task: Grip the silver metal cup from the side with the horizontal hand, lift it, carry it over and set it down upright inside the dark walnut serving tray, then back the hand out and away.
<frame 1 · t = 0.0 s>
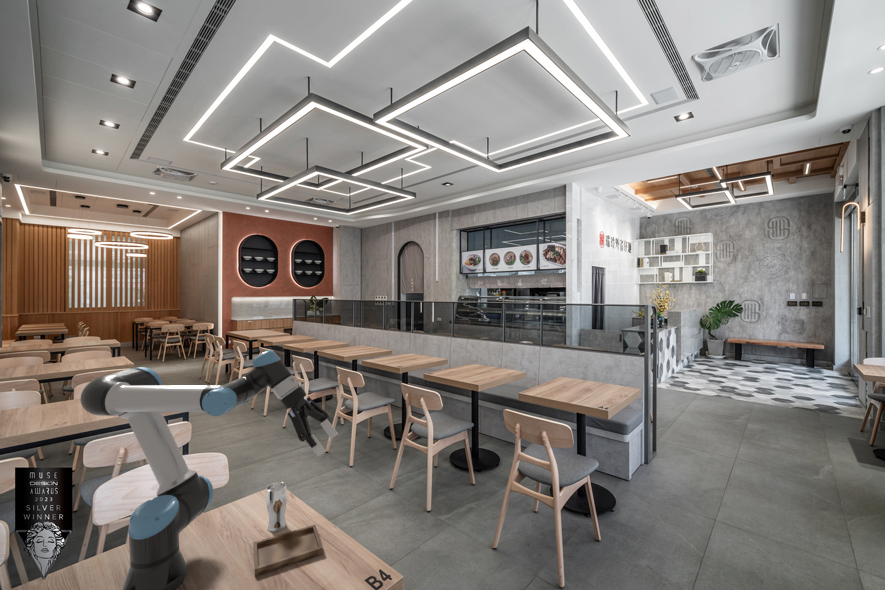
hand: (328, 444, 125), 36 cm above the table, tool tilted 35°, fingers open, 13 cm apart
silver metal cup: (277, 527, 140), on the table
walnut tray: (287, 551, 127), on the table
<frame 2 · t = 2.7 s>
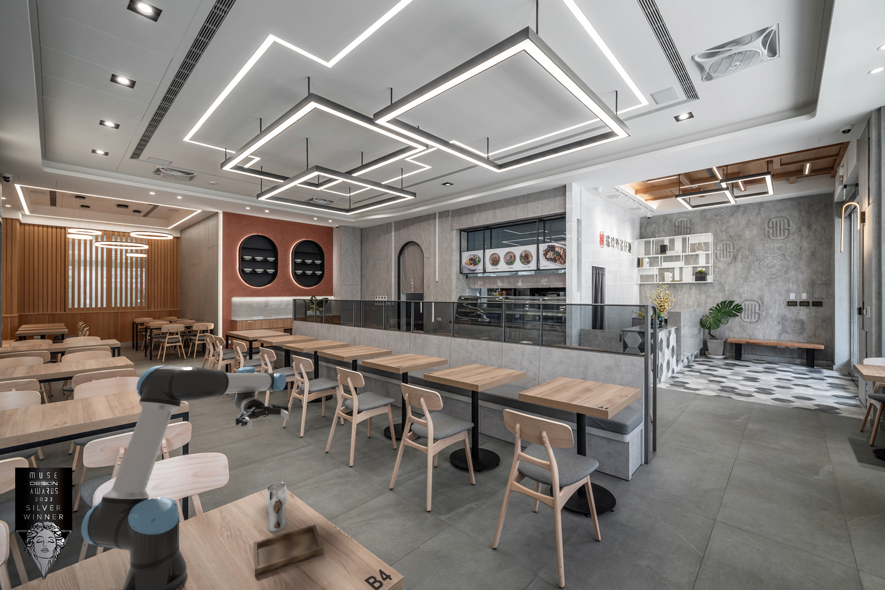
hand: (270, 420, 148), 36 cm above the table, tool horizontal, fingers open, 13 cm apart
nothing on the table moved.
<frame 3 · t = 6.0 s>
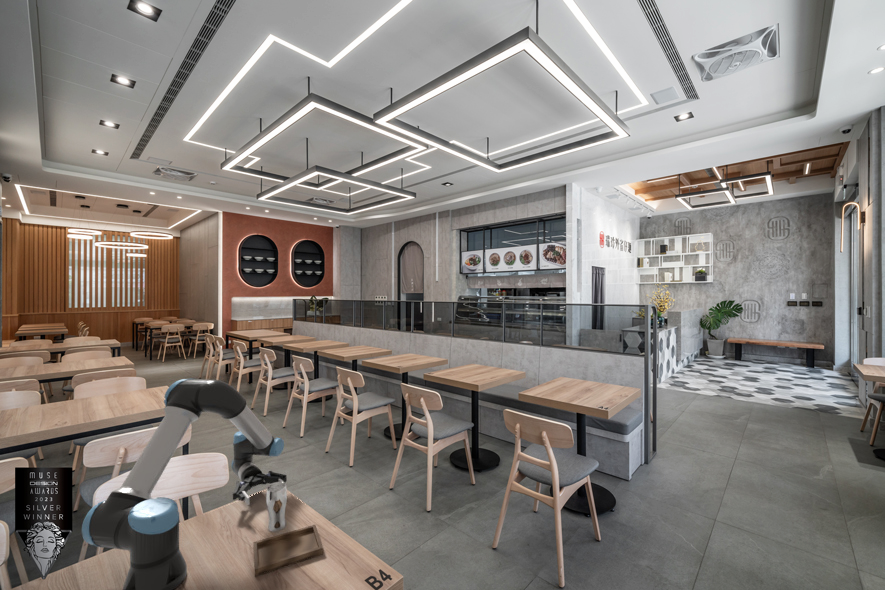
hand: (267, 494, 147), 8 cm above the table, tool horizontal, fingers open, 13 cm apart
nothing on the table moved.
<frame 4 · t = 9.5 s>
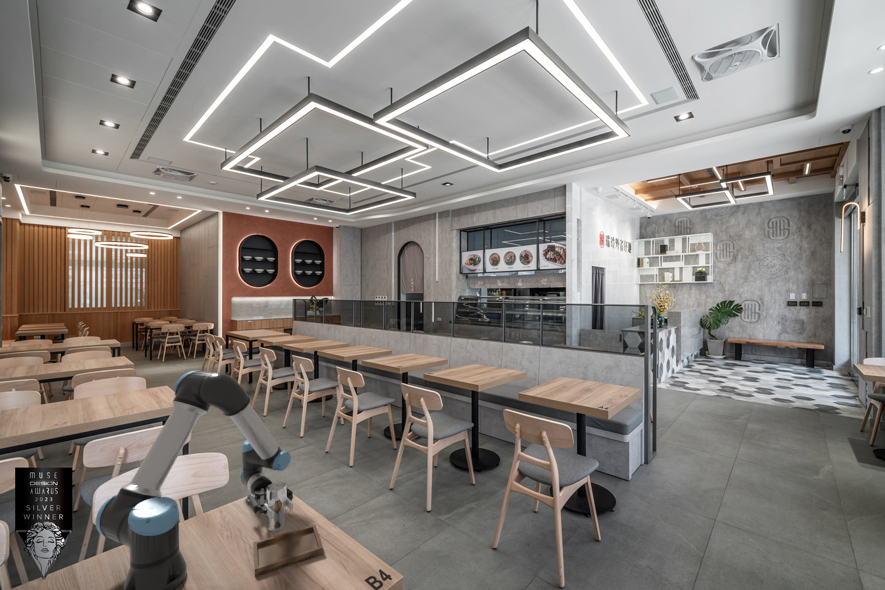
hand: (281, 510, 136), 8 cm above the table, tool horizontal, fingers closed on silver metal cup, 6 cm apart
silver metal cup: (277, 527, 140), on the table, touching gripper
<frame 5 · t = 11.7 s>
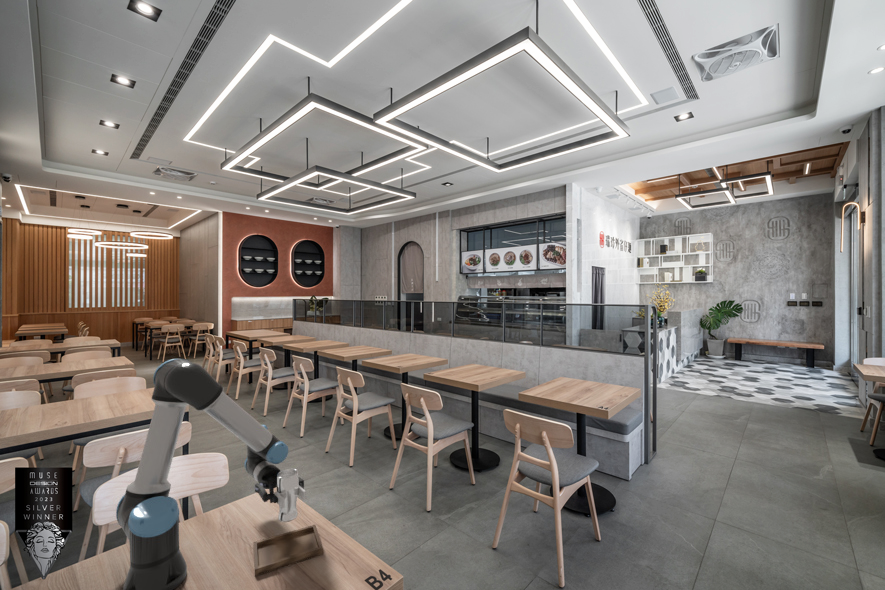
hand: (294, 499, 126), 18 cm above the table, tool horizontal, fingers closed on silver metal cup, 6 cm apart
silver metal cup: (288, 517, 130), point 9 cm above the table, touching gripper
when the fingers open (10 cm above the table, at t = 14.1 s): silver metal cup drops 2 cm, resting on walnut tray.
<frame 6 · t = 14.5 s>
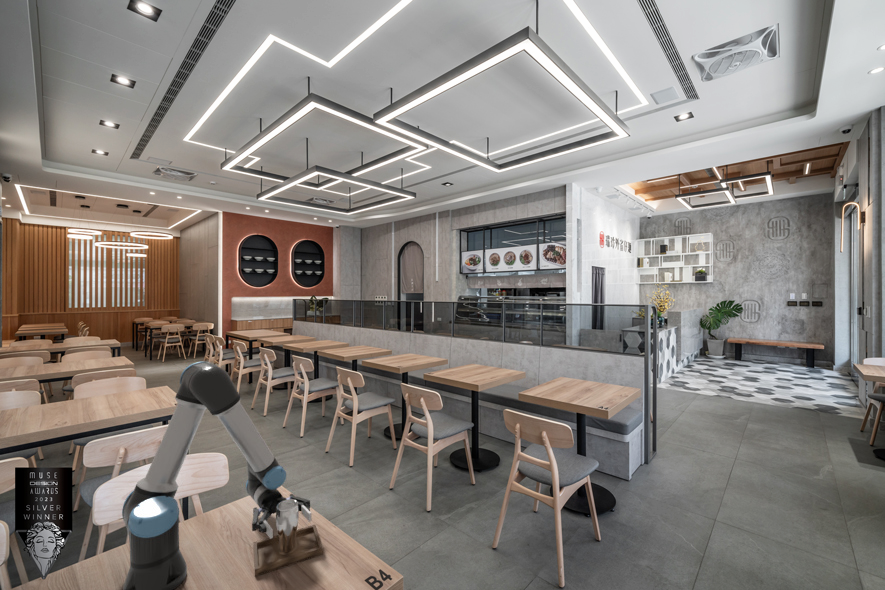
hand: (291, 525, 124), 10 cm above the table, tool horizontal, fingers open, 12 cm apart
silver metal cup: (287, 549, 127), point 1 cm above the table, touching walnut tray
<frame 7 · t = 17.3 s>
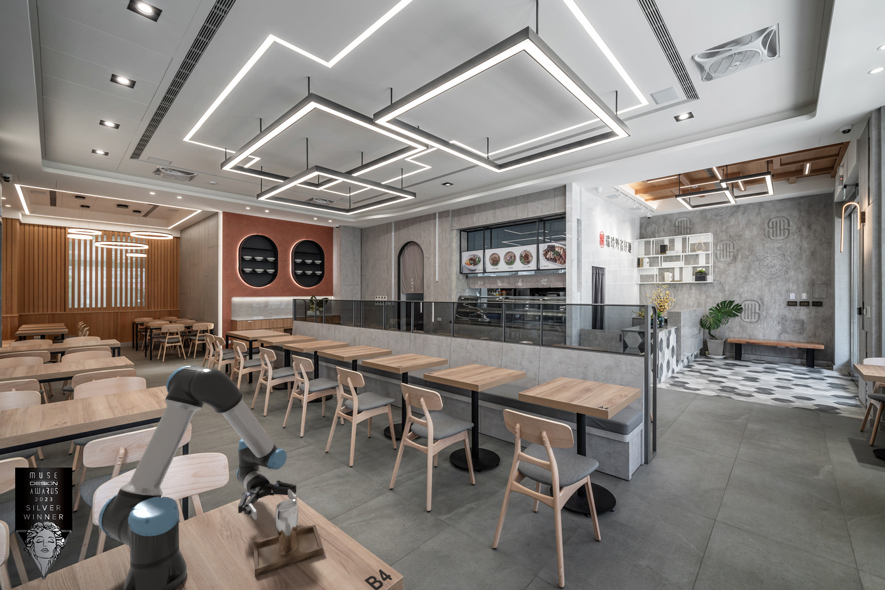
hand: (276, 507, 134), 11 cm above the table, tool horizontal, fingers open, 13 cm apart
nothing on the table moved.
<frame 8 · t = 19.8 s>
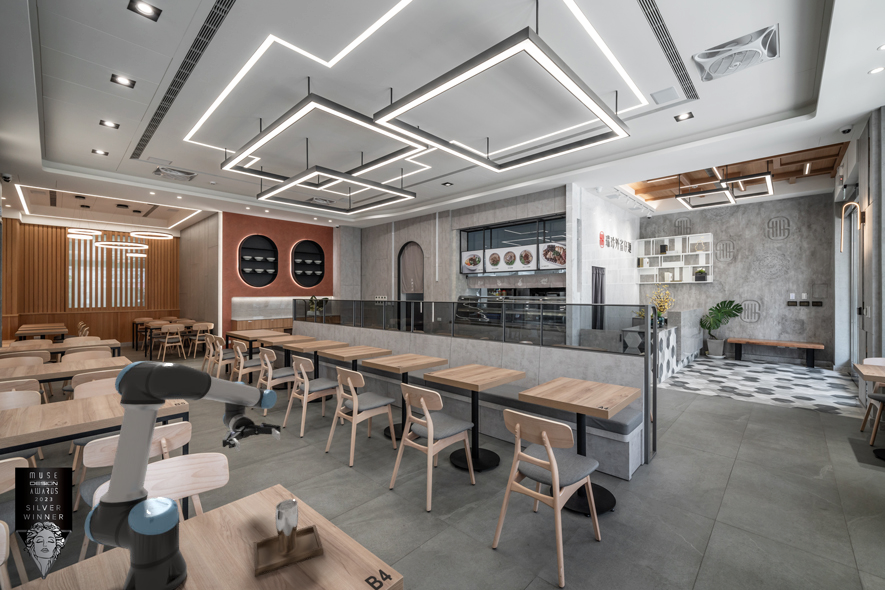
hand: (259, 442, 137), 32 cm above the table, tool horizontal, fingers open, 13 cm apart
nothing on the table moved.
at the end: silver metal cup inside the target area on the walnut tray (0.1 cm from its centre), point 0.6 cm above the walnut tray's base; silver metal cup tilted 0°; the gripper is holding nothing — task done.
